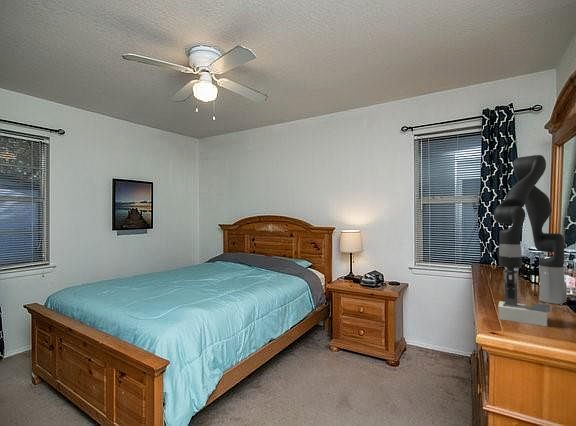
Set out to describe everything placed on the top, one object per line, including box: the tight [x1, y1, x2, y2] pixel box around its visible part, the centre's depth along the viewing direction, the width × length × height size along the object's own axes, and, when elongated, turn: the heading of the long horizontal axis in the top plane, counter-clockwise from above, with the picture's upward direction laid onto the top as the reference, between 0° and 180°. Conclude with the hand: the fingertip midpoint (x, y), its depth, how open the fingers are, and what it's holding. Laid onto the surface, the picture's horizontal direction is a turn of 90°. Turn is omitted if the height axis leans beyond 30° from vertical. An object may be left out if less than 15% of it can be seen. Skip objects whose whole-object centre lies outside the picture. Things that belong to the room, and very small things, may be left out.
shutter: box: [525, 294, 551, 313], centre depth 120 cm, size 7×7×4 cm
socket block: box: [498, 300, 548, 327], centre depth 123 cm, size 10×15×5 cm, turn 53°
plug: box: [504, 277, 519, 306], centre depth 126 cm, size 4×4×12 cm
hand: (511, 297), depth 125 cm, fingers closed on plug, 4 cm apart
